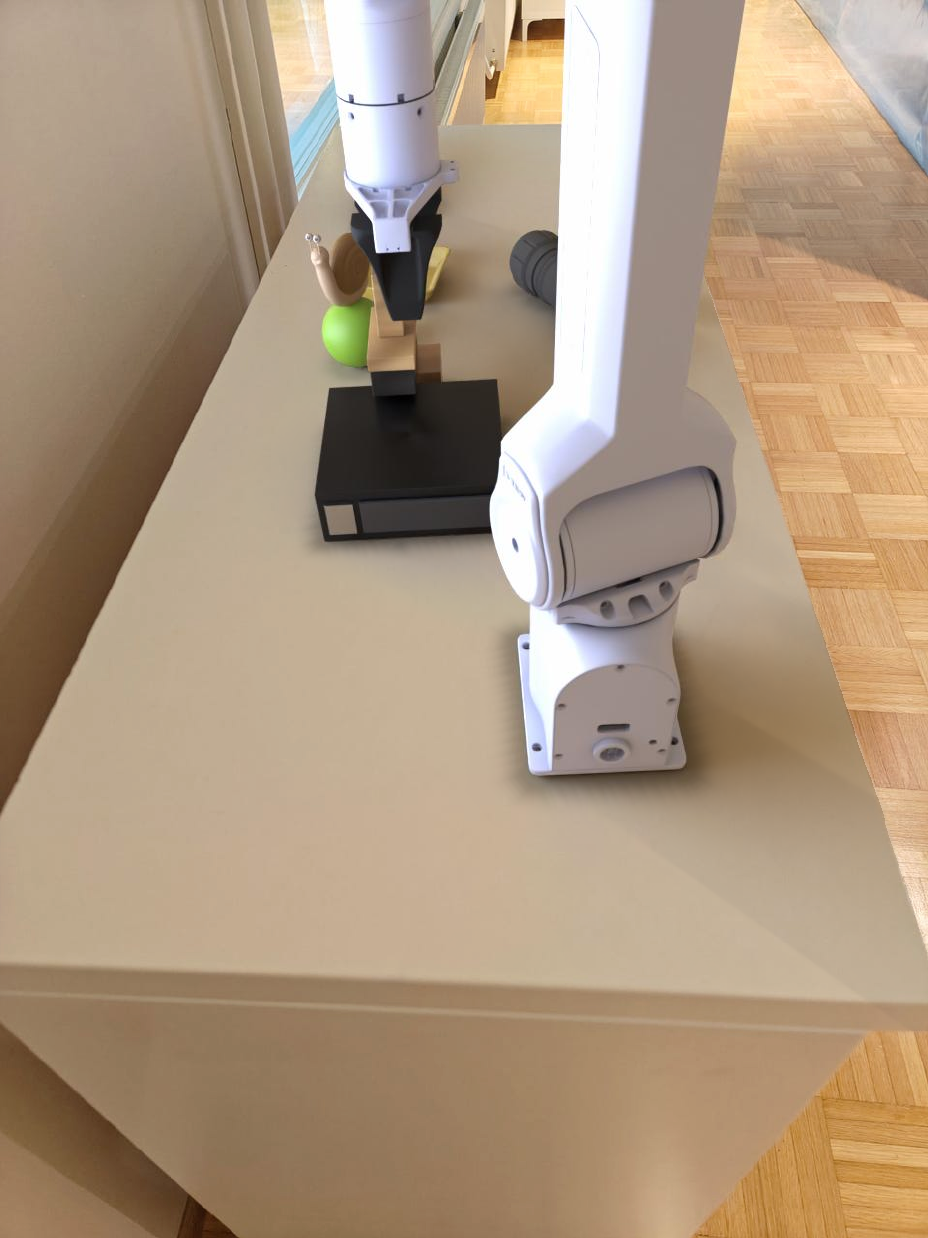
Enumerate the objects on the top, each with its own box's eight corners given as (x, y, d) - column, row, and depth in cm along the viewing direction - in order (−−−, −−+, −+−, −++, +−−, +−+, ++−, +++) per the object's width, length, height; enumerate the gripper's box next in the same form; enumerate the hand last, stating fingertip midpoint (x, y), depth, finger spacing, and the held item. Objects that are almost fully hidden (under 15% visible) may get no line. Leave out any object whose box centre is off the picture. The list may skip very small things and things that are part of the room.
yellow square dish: (453, 267, 86) (452, 245, 84) (434, 313, 80) (432, 290, 78) (364, 263, 87) (361, 241, 86) (339, 308, 81) (335, 285, 80)
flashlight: (503, 290, 82) (502, 230, 78) (555, 275, 84) (557, 216, 80) (594, 369, 72) (598, 305, 69) (651, 351, 74) (658, 287, 70)
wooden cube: (440, 371, 66) (440, 342, 69) (385, 374, 66) (387, 345, 69) (443, 418, 69) (443, 389, 72) (391, 421, 69) (392, 391, 72)
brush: (371, 397, 63) (357, 295, 58) (376, 344, 68) (363, 245, 63) (417, 395, 63) (408, 292, 58) (418, 341, 68) (410, 242, 63)
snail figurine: (307, 377, 74) (278, 229, 65) (350, 339, 77) (328, 194, 69) (364, 392, 72) (342, 241, 63) (405, 352, 76) (390, 205, 67)
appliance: (507, 535, 59) (507, 486, 57) (323, 544, 60) (313, 496, 57) (498, 425, 68) (497, 378, 65) (337, 434, 68) (328, 387, 65)
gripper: (457, 129, 48) (468, 362, 57) (452, 47, 58) (462, 257, 67) (322, 137, 48) (356, 368, 58) (341, 54, 58) (367, 263, 68)
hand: (407, 309), depth 63 cm, fingers closed on brush, 2 cm apart
